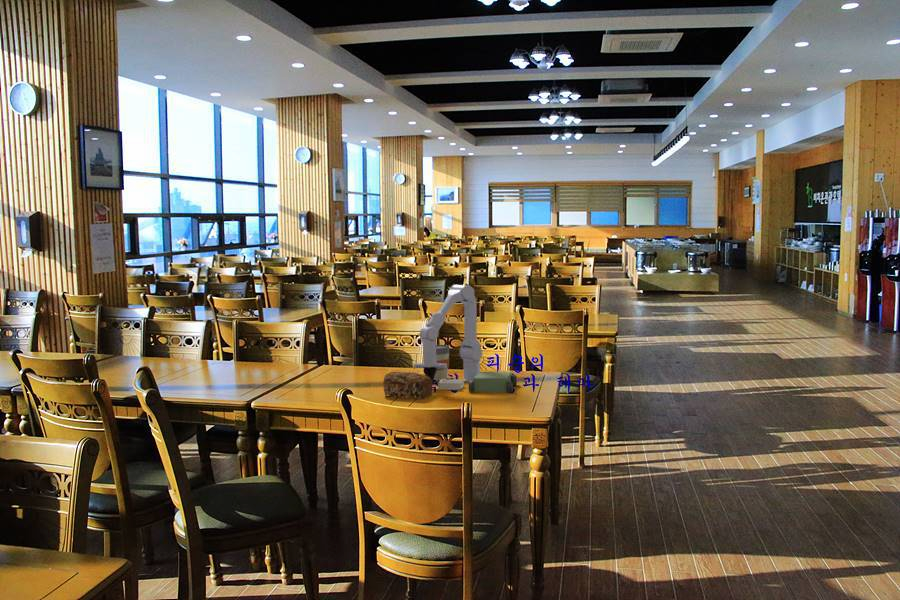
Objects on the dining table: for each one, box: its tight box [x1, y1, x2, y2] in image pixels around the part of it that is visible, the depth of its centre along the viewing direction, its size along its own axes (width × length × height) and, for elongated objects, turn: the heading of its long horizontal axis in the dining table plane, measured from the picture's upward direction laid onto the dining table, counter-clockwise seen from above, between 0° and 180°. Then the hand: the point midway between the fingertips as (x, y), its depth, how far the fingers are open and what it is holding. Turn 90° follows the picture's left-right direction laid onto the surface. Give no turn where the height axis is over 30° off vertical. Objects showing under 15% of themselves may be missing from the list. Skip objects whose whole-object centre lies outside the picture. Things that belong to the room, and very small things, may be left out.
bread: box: [382, 371, 433, 400], centre depth 321 cm, size 19×11×10 cm, turn 60°
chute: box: [437, 379, 465, 391], centre depth 332 cm, size 7×10×3 cm
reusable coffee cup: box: [434, 344, 451, 381], centre depth 354 cm, size 13×13×15 cm
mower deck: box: [468, 371, 518, 393], centre depth 328 cm, size 18×18×6 cm
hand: (430, 384), depth 334 cm, fingers closed
